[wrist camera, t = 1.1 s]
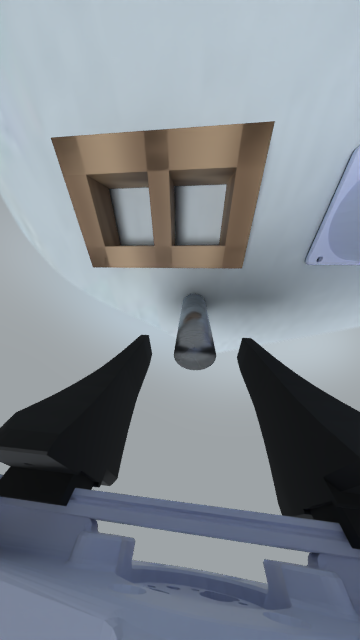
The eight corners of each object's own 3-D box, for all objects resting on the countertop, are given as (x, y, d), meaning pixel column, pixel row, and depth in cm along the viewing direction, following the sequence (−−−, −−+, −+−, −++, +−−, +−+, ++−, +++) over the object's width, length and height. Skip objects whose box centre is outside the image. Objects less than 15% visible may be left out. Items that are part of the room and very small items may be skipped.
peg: (206, 293, 16) (218, 341, 9) (204, 315, 18) (213, 371, 10) (182, 293, 16) (173, 338, 9) (182, 314, 18) (174, 368, 10)
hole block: (254, 151, 10) (274, 121, 8) (233, 263, 14) (241, 268, 12) (83, 161, 11) (50, 137, 9) (109, 262, 15) (93, 267, 13)
